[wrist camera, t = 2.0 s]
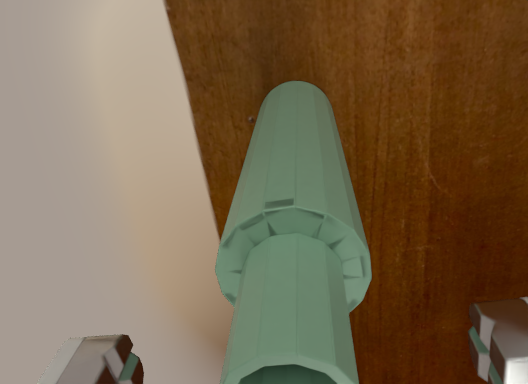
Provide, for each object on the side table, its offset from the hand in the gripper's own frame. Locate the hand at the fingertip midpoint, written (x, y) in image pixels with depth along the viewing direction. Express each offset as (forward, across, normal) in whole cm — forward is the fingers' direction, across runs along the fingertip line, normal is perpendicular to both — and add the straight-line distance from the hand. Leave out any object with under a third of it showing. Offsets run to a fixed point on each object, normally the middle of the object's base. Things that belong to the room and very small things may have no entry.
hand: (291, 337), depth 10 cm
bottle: (+17, 0, 0) cm, 17 cm away
